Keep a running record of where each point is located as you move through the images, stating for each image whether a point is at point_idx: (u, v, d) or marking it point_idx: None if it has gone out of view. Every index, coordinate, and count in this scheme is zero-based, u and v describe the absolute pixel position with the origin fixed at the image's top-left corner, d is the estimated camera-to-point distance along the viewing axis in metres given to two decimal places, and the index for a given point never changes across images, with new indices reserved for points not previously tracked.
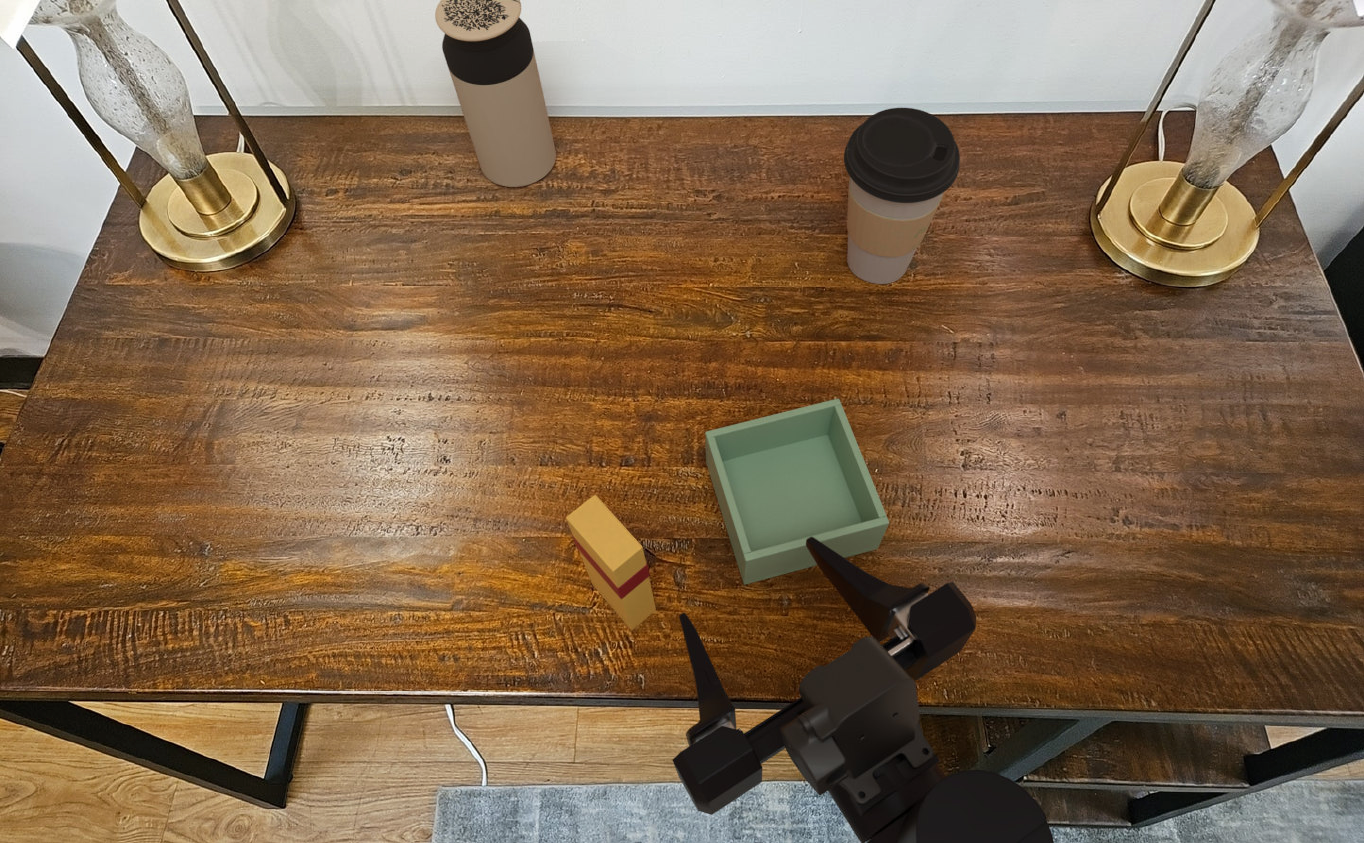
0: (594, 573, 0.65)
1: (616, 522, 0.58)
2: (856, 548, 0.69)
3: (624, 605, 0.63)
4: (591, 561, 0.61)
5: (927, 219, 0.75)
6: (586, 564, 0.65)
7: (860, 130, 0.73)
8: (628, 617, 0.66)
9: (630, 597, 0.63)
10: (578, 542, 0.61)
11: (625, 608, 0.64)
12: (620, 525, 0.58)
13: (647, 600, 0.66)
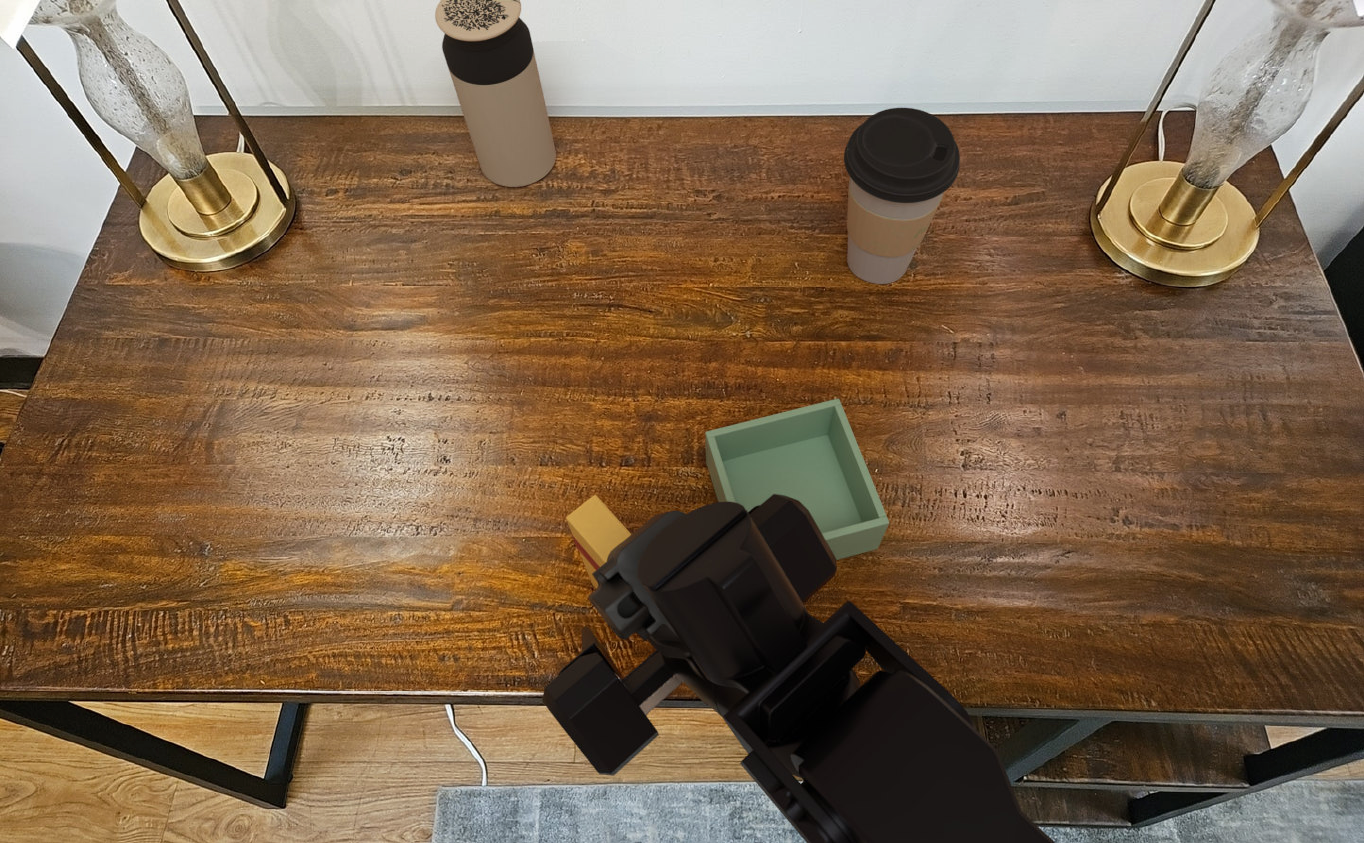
0: None
1: (616, 522, 0.58)
2: (856, 548, 0.69)
3: None
4: (591, 561, 0.61)
5: (927, 219, 0.75)
6: (586, 564, 0.65)
7: (860, 130, 0.73)
8: None
9: None
10: (578, 542, 0.61)
11: None
12: (620, 525, 0.58)
13: None
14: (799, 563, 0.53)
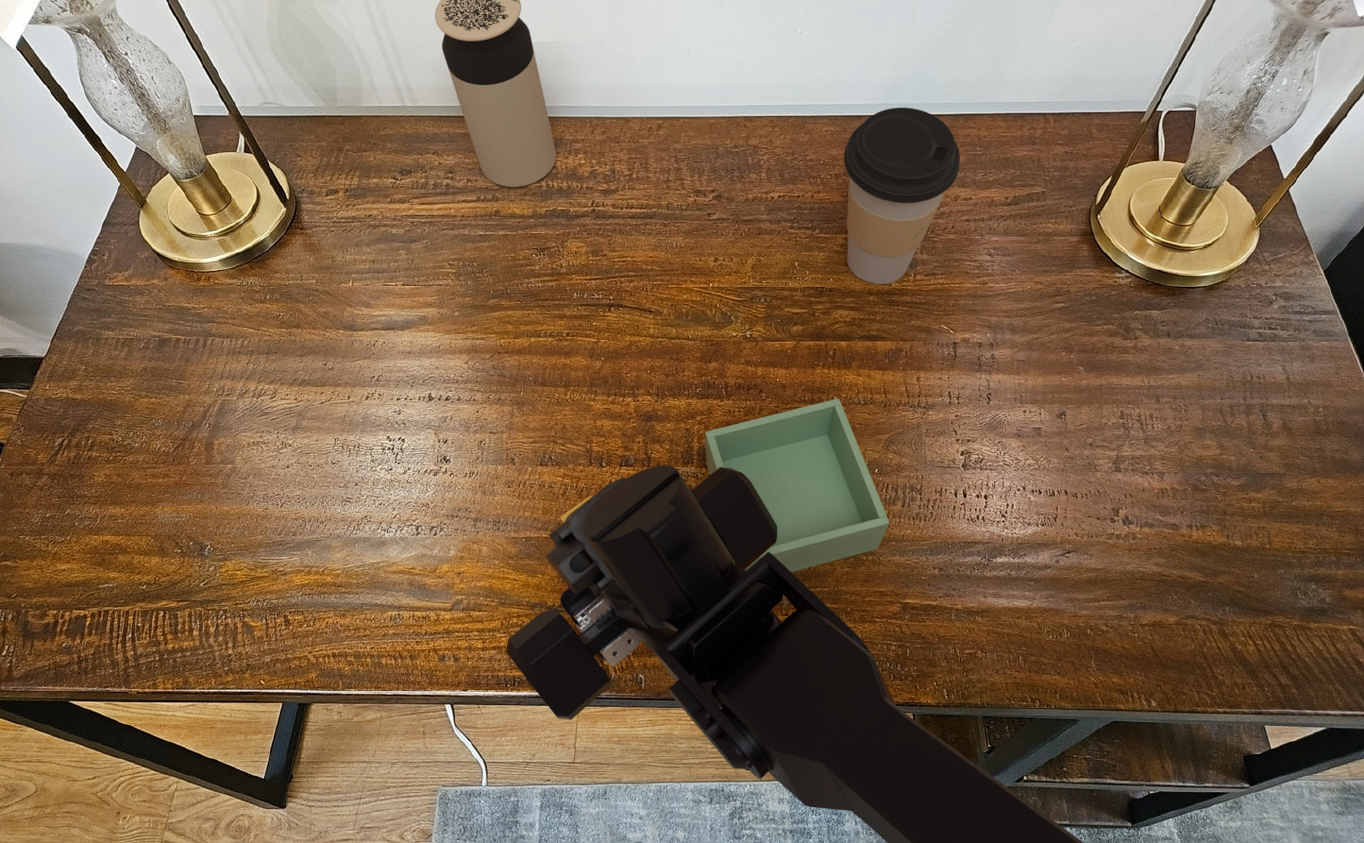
0: None
1: None
2: (856, 548, 0.69)
3: None
4: None
5: (927, 219, 0.75)
6: None
7: (860, 130, 0.73)
8: None
9: None
10: None
11: None
12: None
13: None
14: (742, 529, 0.58)
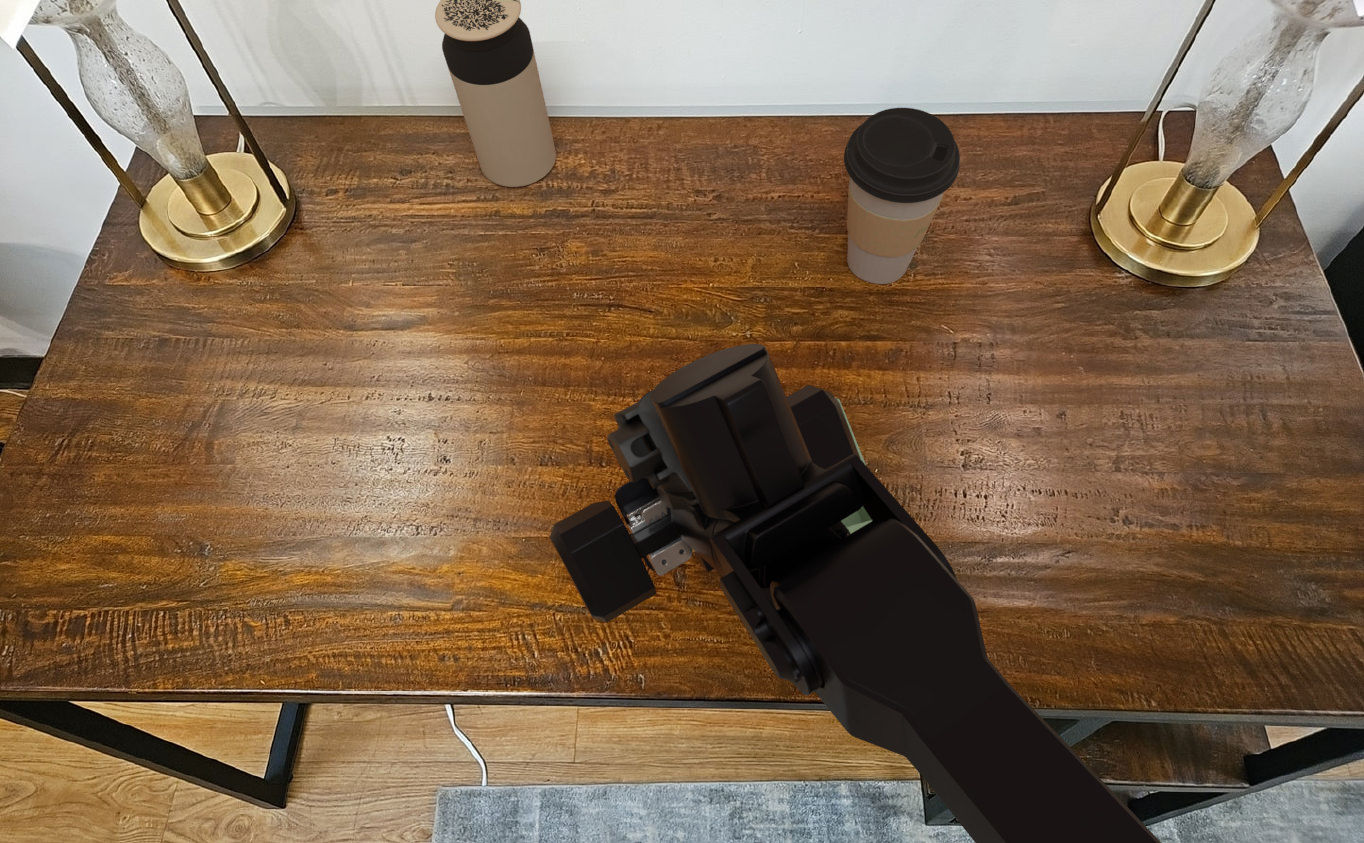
0: None
1: None
2: None
3: None
4: None
5: (927, 219, 0.75)
6: None
7: (860, 130, 0.73)
8: None
9: None
10: None
11: None
12: None
13: None
14: (821, 453, 0.53)
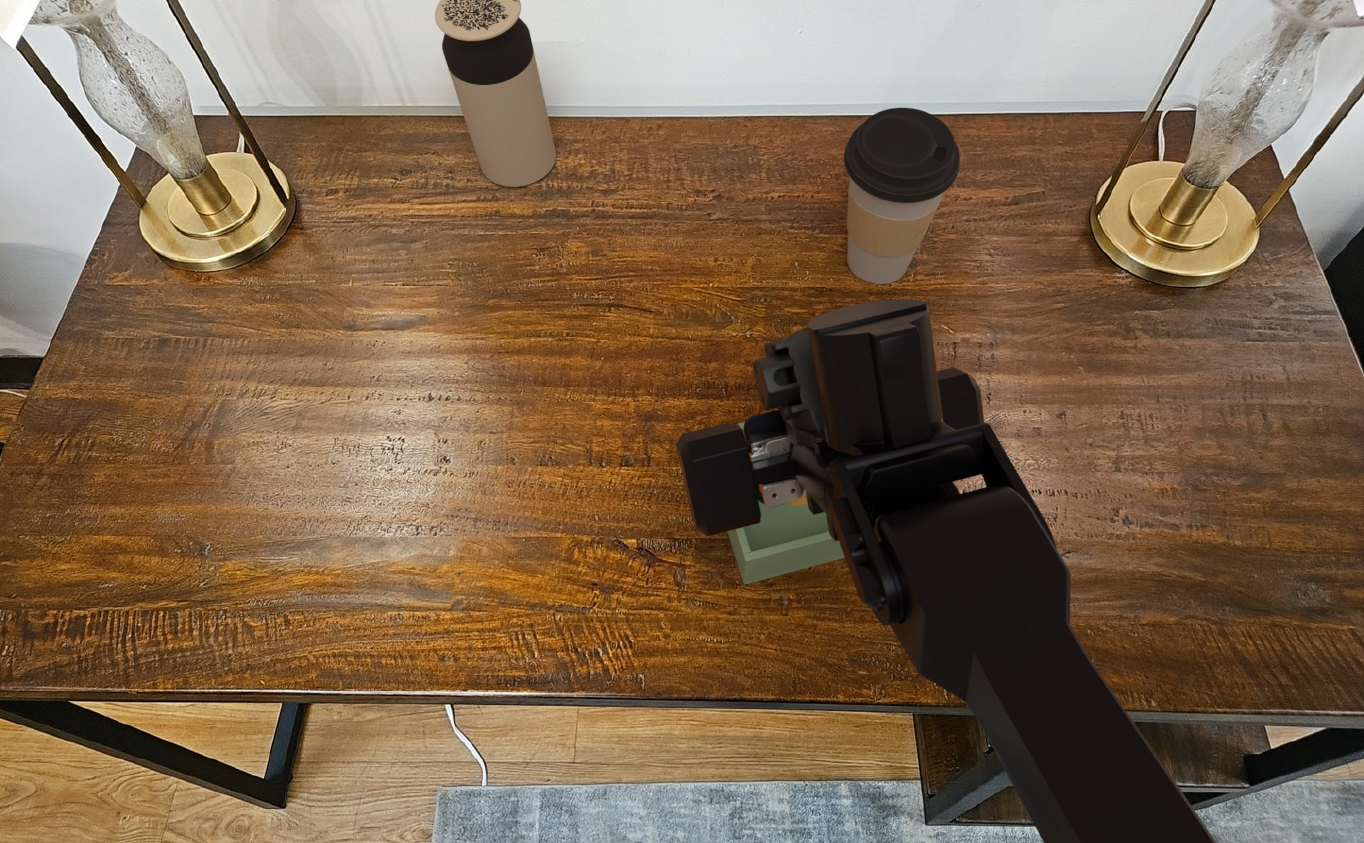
0: None
1: None
2: None
3: None
4: None
5: (927, 219, 0.75)
6: None
7: (860, 130, 0.73)
8: None
9: None
10: None
11: None
12: None
13: None
14: None
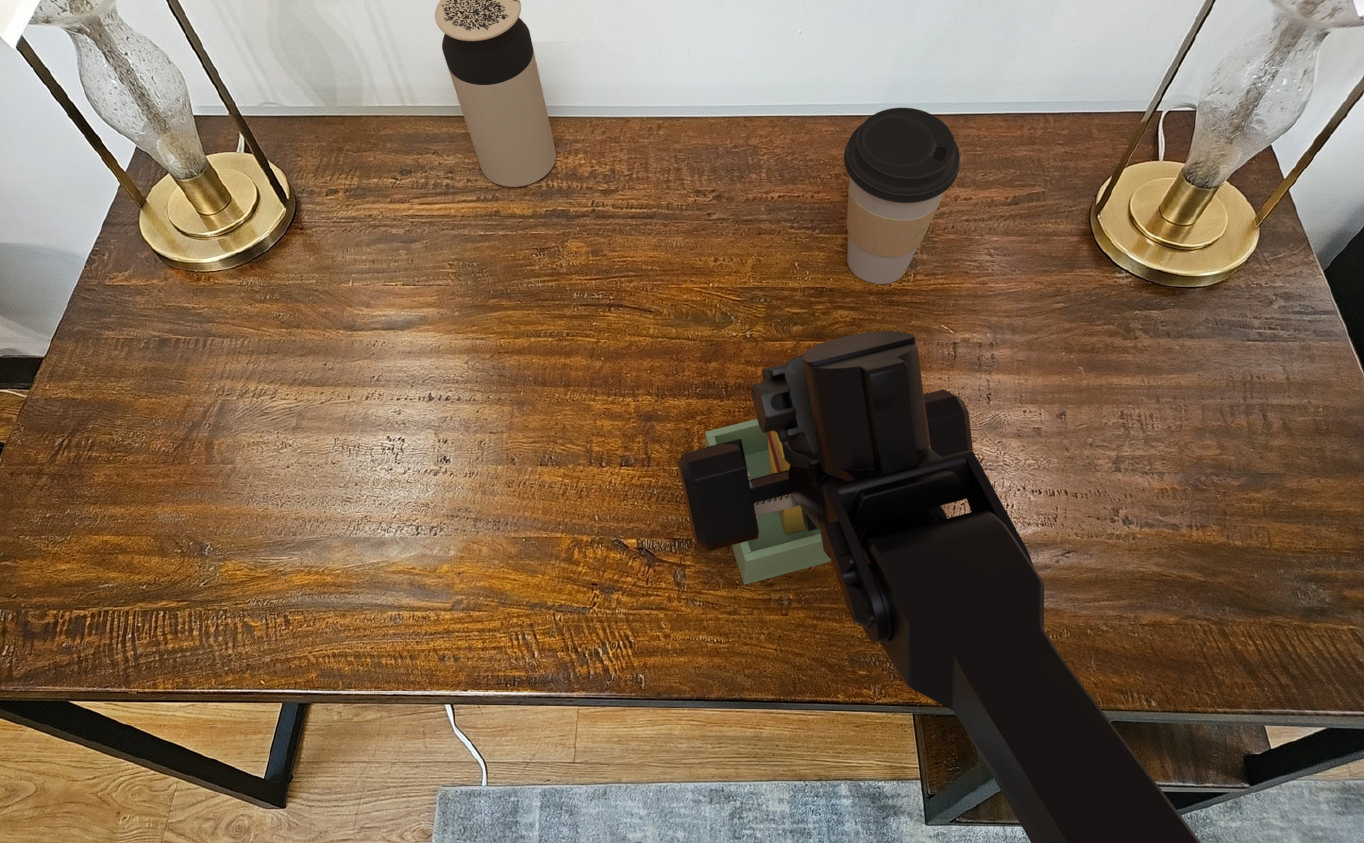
0: (772, 464, 0.68)
1: None
2: None
3: None
4: (772, 448, 0.64)
5: (927, 219, 0.75)
6: (769, 454, 0.68)
7: (860, 130, 0.73)
8: (785, 518, 0.68)
9: None
10: None
11: None
12: None
13: None
14: (940, 453, 0.56)
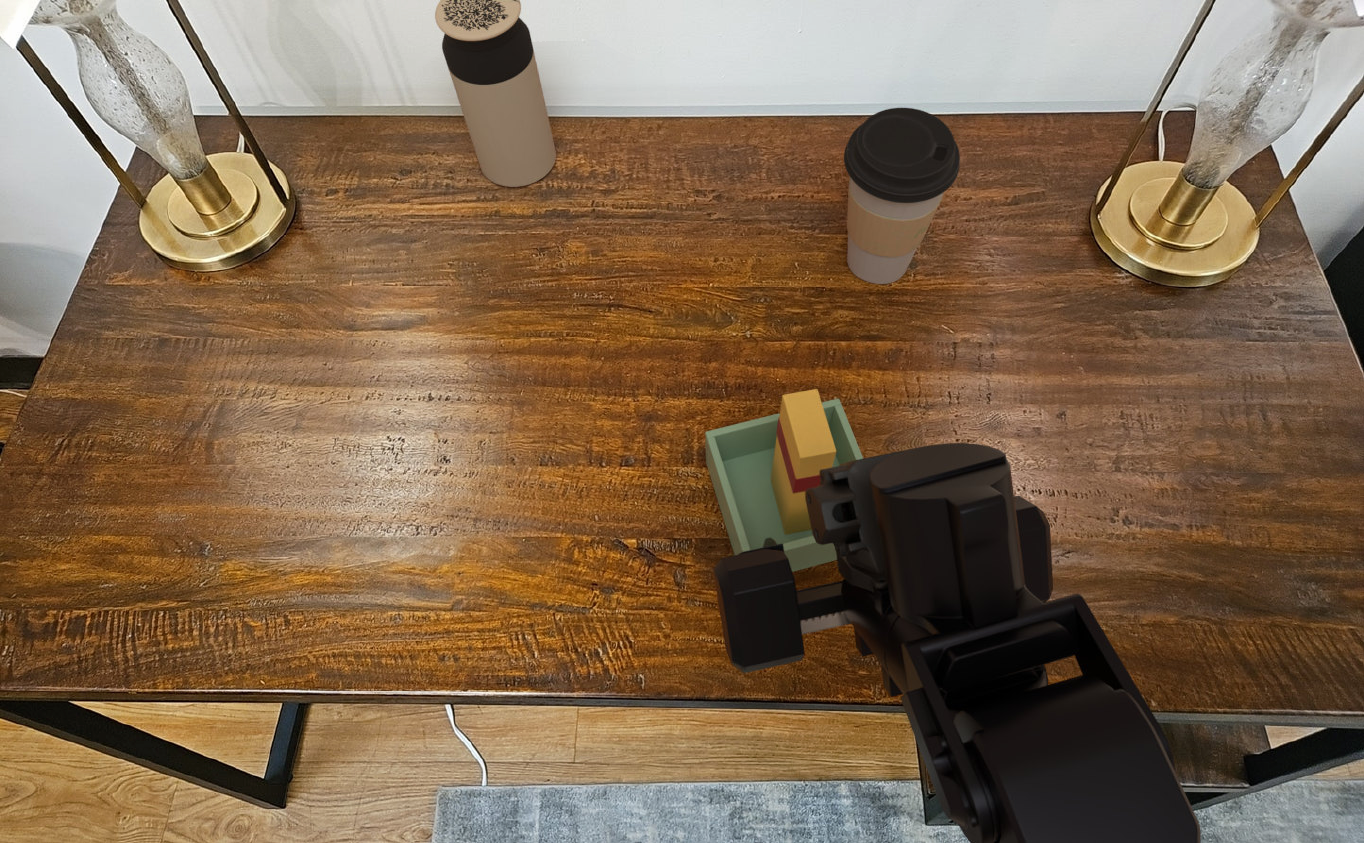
0: (779, 464, 0.68)
1: (823, 420, 0.60)
2: None
3: (792, 502, 0.66)
4: (783, 448, 0.64)
5: (927, 219, 0.75)
6: (776, 453, 0.68)
7: (860, 130, 0.73)
8: (789, 518, 0.68)
9: (801, 497, 0.65)
10: (781, 425, 0.64)
11: (791, 506, 0.66)
12: (826, 424, 0.60)
13: None
14: None
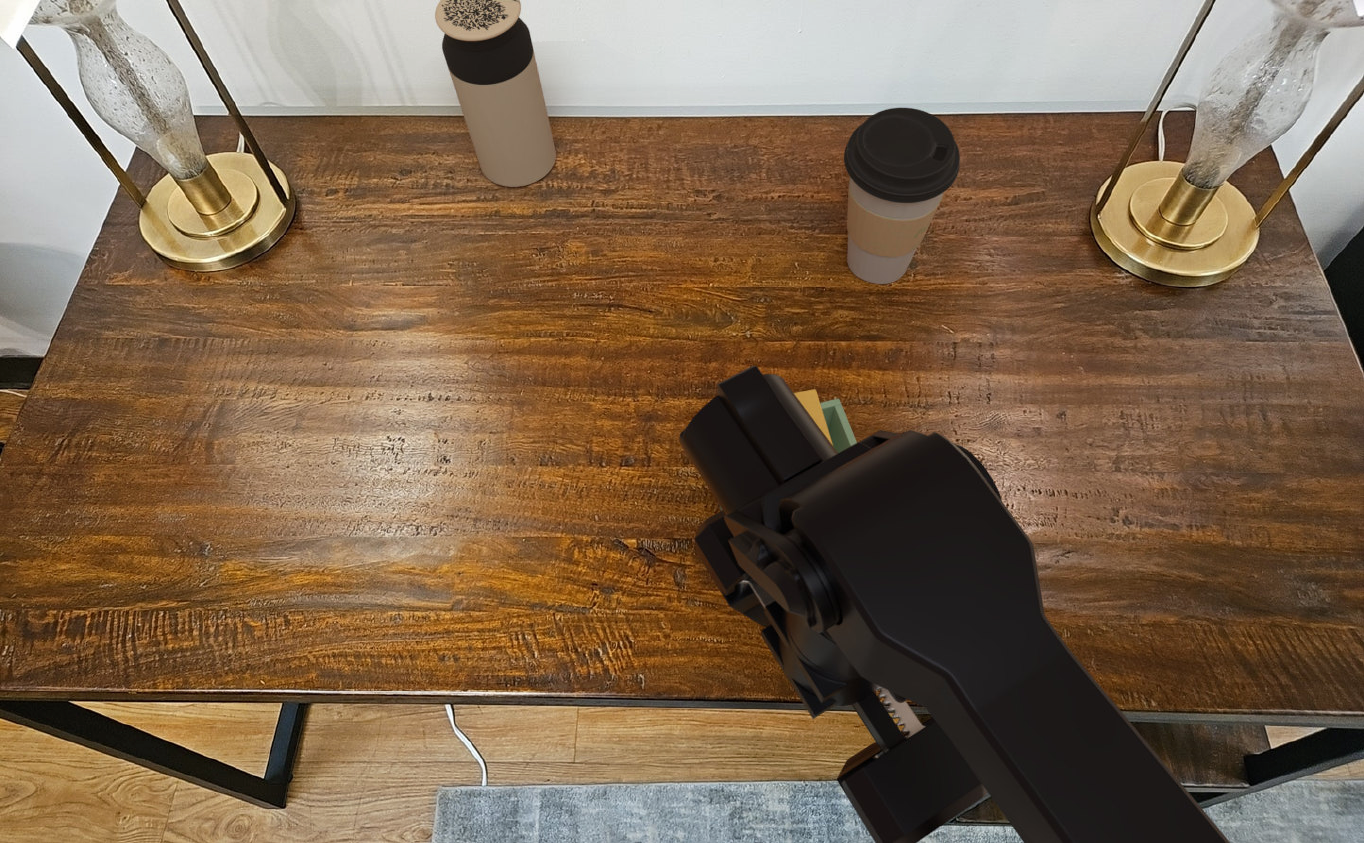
0: None
1: (822, 420, 0.60)
2: None
3: None
4: None
5: (927, 219, 0.75)
6: None
7: (860, 130, 0.73)
8: None
9: None
10: None
11: None
12: (824, 424, 0.60)
13: None
14: (917, 772, 0.42)
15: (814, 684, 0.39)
